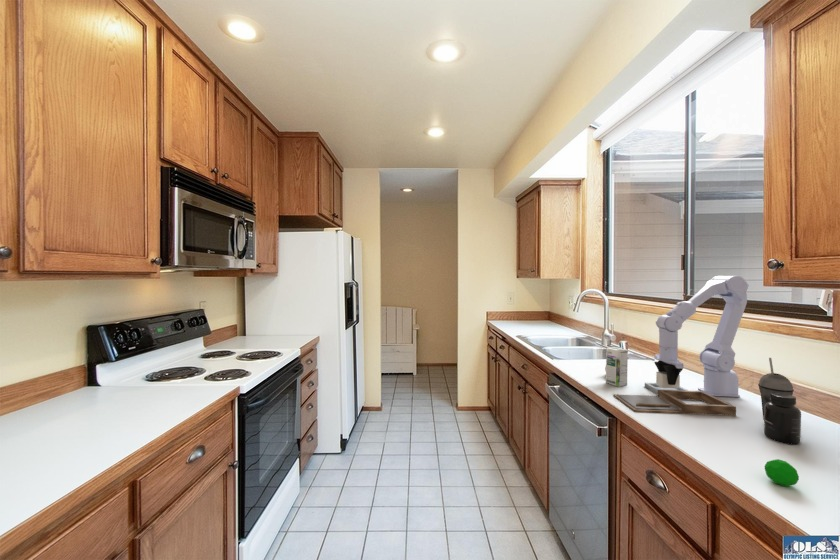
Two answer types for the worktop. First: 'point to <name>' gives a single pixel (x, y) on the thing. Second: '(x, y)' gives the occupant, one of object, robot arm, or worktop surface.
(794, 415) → the supplement bottle
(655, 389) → the tray
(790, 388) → the beverage cup
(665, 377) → the block
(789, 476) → the green rounded piece
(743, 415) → the worktop surface
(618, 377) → the syrup box
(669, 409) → the open case
